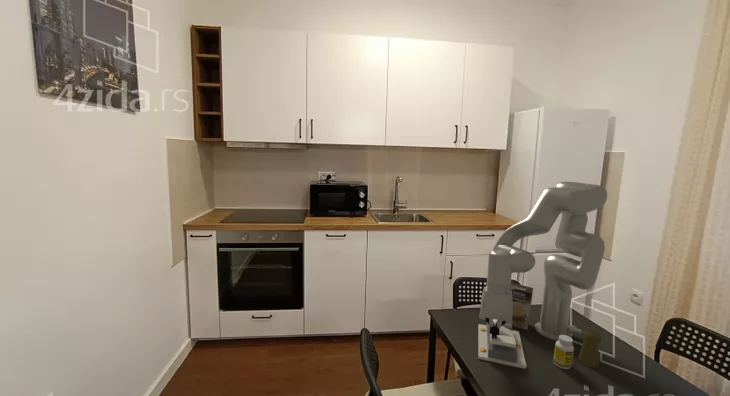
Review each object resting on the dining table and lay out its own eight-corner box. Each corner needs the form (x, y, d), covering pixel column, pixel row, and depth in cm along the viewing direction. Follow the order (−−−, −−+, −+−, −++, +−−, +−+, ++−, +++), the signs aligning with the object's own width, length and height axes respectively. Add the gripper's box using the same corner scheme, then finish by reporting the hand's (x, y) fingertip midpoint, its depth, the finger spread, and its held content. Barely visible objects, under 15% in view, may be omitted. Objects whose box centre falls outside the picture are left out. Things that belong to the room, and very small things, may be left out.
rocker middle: (510, 335, 123) (513, 331, 122) (511, 342, 119) (514, 338, 118) (489, 324, 125) (492, 320, 124) (490, 330, 121) (492, 326, 120)
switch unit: (518, 333, 130) (519, 323, 130) (526, 368, 110) (527, 356, 109) (478, 326, 135) (479, 316, 134) (478, 358, 115) (479, 346, 114)
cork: (602, 368, 111) (607, 338, 109) (582, 365, 112) (586, 335, 110) (593, 357, 117) (598, 328, 115) (574, 354, 118) (579, 326, 116)
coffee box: (503, 323, 138) (506, 287, 135) (505, 317, 143) (509, 281, 140) (527, 330, 133) (531, 293, 130) (529, 323, 138) (533, 287, 136)
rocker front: (514, 342, 116) (514, 337, 116) (515, 349, 112) (515, 344, 112) (489, 338, 118) (490, 333, 118) (490, 345, 114) (490, 340, 114)
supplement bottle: (565, 371, 109) (568, 344, 107) (549, 361, 114) (552, 335, 112) (574, 366, 112) (578, 340, 110) (559, 357, 116) (562, 331, 115)
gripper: (521, 285, 114) (516, 334, 117) (475, 279, 119) (471, 326, 122) (523, 294, 107) (518, 346, 110) (474, 287, 112) (471, 337, 115)
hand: (494, 336), depth 116 cm, fingers closed
